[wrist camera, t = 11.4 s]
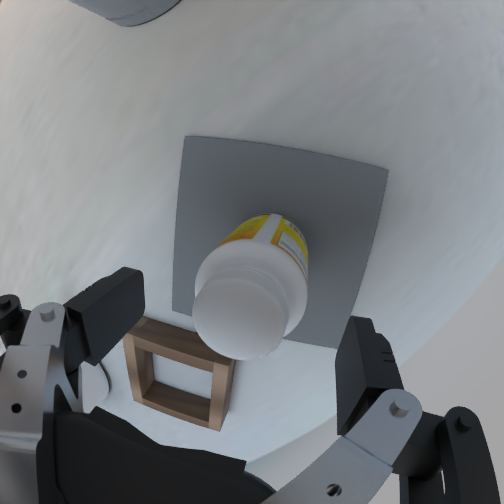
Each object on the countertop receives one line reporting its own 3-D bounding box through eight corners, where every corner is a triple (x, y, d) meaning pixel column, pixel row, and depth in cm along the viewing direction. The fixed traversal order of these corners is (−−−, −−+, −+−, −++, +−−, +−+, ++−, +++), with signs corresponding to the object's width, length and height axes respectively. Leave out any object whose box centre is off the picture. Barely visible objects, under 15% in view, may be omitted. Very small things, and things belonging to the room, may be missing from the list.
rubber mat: (188, 136, 19) (185, 135, 18) (386, 169, 17) (388, 170, 16) (175, 307, 23) (172, 310, 23) (337, 344, 21) (337, 348, 21)
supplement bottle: (225, 269, 20) (166, 346, 11) (245, 201, 19) (185, 238, 10) (293, 293, 20) (278, 388, 11) (319, 226, 18) (328, 288, 9)
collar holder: (138, 314, 24) (121, 330, 22) (238, 344, 23) (228, 366, 20) (146, 383, 28) (133, 400, 25) (227, 411, 26) (219, 431, 24)
